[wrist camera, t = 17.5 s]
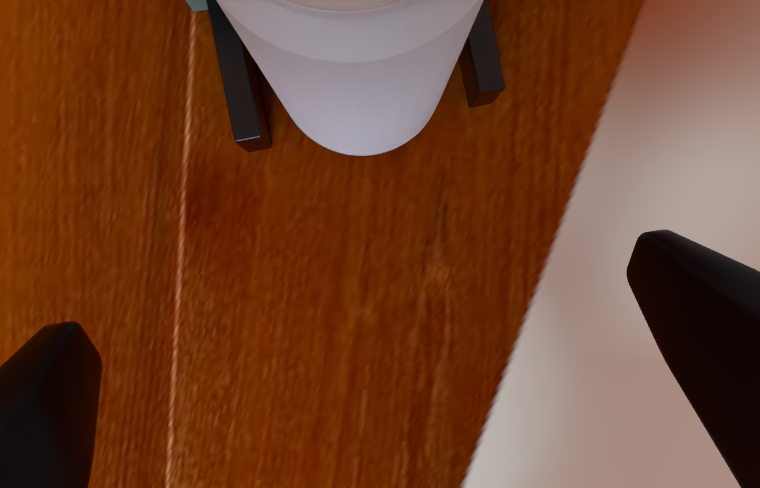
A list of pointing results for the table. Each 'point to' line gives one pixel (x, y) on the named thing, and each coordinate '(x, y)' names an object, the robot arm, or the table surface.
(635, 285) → the robot arm
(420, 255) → the table surface
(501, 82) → the rack bay
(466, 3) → the beverage can
